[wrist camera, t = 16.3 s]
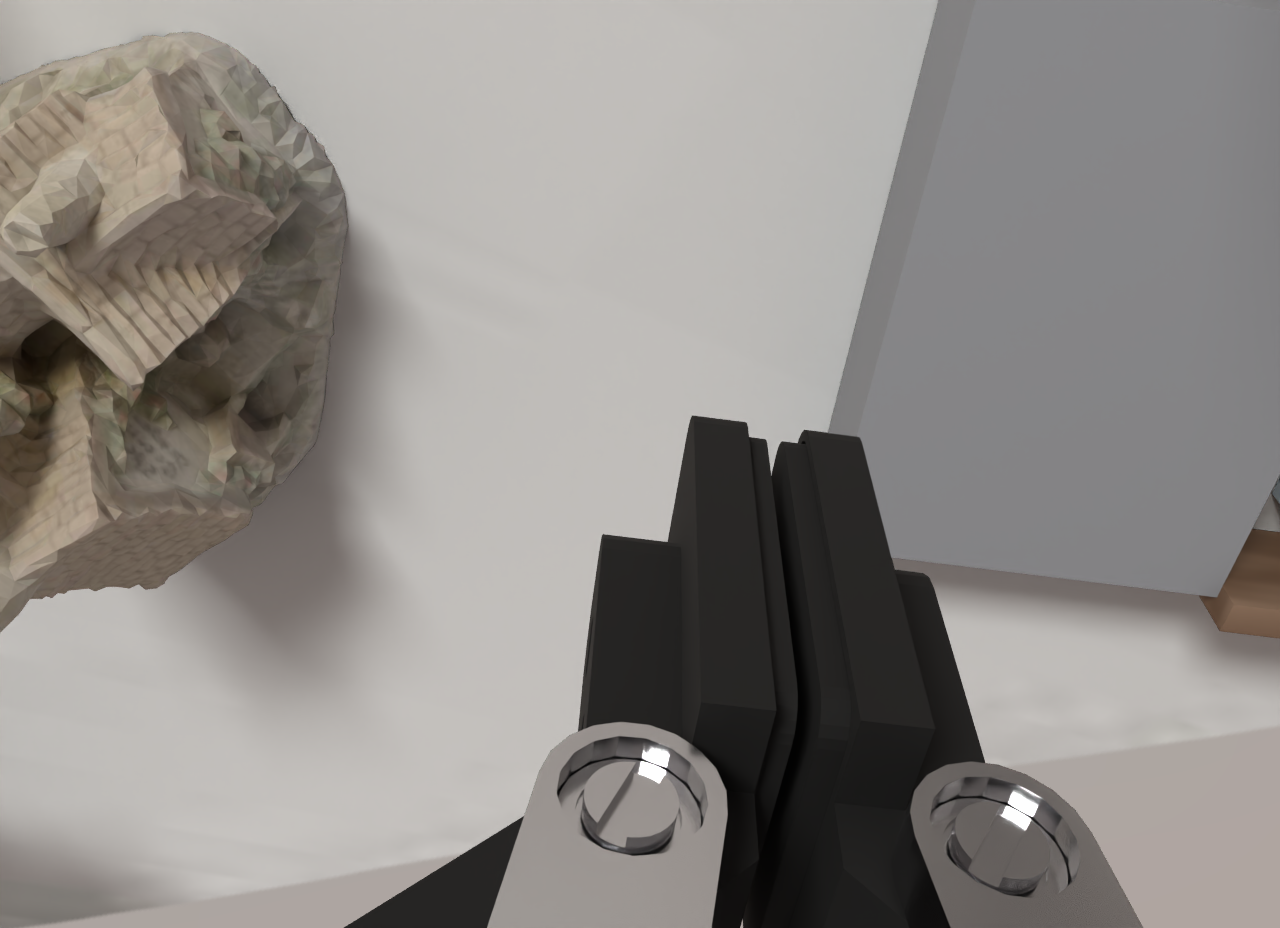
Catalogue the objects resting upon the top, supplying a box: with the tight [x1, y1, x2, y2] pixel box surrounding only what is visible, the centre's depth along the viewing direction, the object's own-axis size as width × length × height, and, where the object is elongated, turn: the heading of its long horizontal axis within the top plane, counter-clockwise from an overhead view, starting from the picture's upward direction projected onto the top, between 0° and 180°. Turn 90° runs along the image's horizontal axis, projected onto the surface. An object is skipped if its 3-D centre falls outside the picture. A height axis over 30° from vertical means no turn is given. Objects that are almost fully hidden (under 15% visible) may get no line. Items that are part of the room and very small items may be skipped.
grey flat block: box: [828, 0, 1280, 597], centre depth 37 cm, size 19×14×4 cm
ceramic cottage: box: [0, 32, 348, 632], centre depth 35 cm, size 16×16×15 cm
